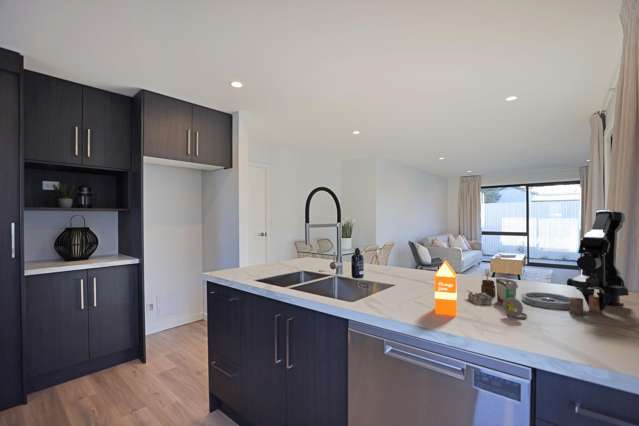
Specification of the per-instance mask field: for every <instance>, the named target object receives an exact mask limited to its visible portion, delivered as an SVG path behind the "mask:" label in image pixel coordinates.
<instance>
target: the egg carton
mask: <svg viewBox="0 0 639 426" xmlns="http://www.w3.org/2000/svg"><path fill="white" fill-rule="evenodd" d="M467 292H468V293H469V294H468V295H467V296H468V297H467V298H468V300H469V301H471V302H472V303H474V304H476V305H480V306H482V305H486V306H487V305H488V306H489V305H490V306H491V305H492V302H493V301H492V298H493V297H491V296H490V295H487V294H486V293H481V292H479V293H477V292H475V294H474V293H473V292H472V291H470V290H467Z"/></svg>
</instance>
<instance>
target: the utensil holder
mask: <svg viewBox="0 0 639 426" xmlns="http://www.w3.org/2000/svg"><path fill="white" fill-rule="evenodd" d="M484 270H485V271H484V275H485V279H482V280H481V286H480V287H481V288H480V290H481V291H480V293H486V294H487V295H490V296H491V297H492V298H494V297H496V296H497V288H496V285H495V284H496V282H495V280H491V278H489V277H492V275H491V274H490V269H489V268H487V269H486V268H485V269H484Z"/></svg>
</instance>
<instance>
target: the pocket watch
mask: <svg viewBox="0 0 639 426" xmlns="http://www.w3.org/2000/svg"><path fill="white" fill-rule="evenodd" d="M509 292H513V291H509ZM509 292H508V293H509ZM514 293H515V292H514ZM510 295H511V296H512V297H509V298H506V299H505V300H504V301H503V304H502V309H503V311H504V312H505V314H506V316H508V317H511V318H514V319H526V318H528V314H527V313H524V312H523V311H524V306H523V304H522V302H521V301H520V300H519V299H517V298H516V299H515V298H513V296H515V295H516V296H517V292H516V293H515V295H513V293H512V294H510ZM507 304H508V306H507ZM508 307H510V308H508Z"/></svg>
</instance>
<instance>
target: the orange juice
mask: <svg viewBox="0 0 639 426" xmlns="http://www.w3.org/2000/svg"><path fill="white" fill-rule="evenodd" d="M457 281H458V280H457V273H456V271H454V269H453V267H452V266H451V265H450V264H449V262H448V261H447V259H445V261H443V263H442V264H441V266H440V267H439V268H438V269H437V271H436V272H435V274H434V313H435V314H436V315H445V316H452V317H457V312H458V309H457V308H458V307H457V305H458V304H457V293H458V292H457V284H458V283H457Z"/></svg>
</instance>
